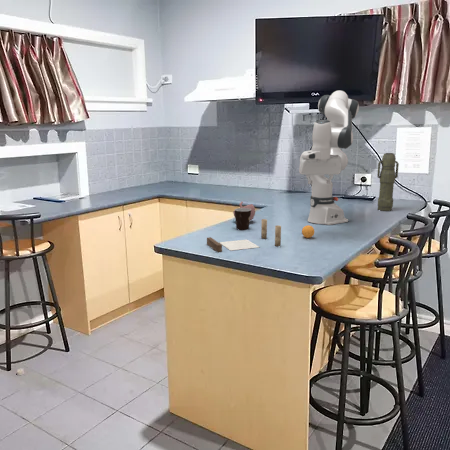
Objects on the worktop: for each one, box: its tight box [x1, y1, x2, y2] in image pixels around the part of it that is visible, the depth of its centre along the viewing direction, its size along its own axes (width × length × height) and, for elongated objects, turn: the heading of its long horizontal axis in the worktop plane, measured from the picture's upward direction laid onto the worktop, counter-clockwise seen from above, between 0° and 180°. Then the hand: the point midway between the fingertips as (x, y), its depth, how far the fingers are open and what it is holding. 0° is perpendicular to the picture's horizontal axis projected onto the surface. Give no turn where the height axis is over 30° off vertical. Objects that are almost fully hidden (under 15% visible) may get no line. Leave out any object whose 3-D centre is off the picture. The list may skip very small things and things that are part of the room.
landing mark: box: [218, 239, 260, 252], centre depth 212 cm, size 14×14×1 cm
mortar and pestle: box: [232, 201, 256, 222], centre depth 256 cm, size 12×12×12 cm
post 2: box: [274, 225, 282, 247], centre depth 210 cm, size 3×3×9 cm
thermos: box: [376, 152, 400, 212], centre depth 286 cm, size 9×12×35 cm
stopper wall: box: [206, 236, 223, 253], centre depth 207 cm, size 2×14×3 cm, turn 21°
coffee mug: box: [234, 207, 251, 231], centre depth 240 cm, size 12×9×10 cm
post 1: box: [260, 218, 268, 240], centre depth 223 cm, size 3×3×9 cm
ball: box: [301, 225, 316, 239], centre depth 224 cm, size 6×6×6 cm
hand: (319, 183), depth 225 cm, fingers open, 8 cm apart
